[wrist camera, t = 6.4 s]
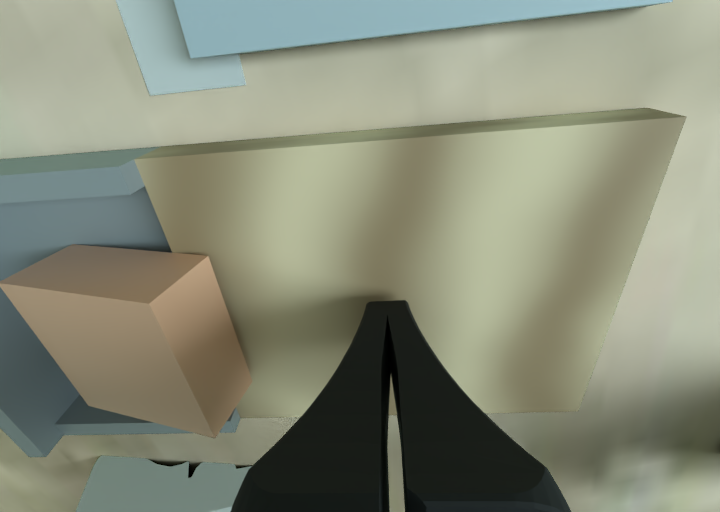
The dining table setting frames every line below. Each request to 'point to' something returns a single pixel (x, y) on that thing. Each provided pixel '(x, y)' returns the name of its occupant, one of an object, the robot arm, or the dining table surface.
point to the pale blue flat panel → (300, 29)
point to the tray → (43, 238)
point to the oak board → (422, 245)
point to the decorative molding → (159, 486)
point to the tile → (137, 332)
